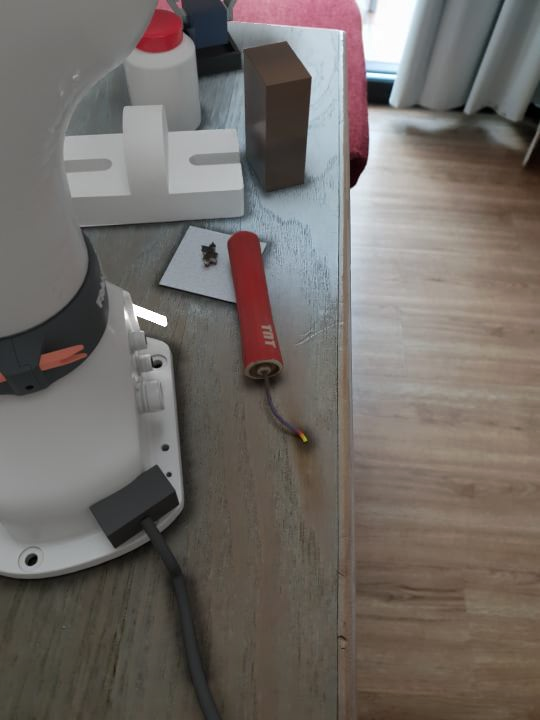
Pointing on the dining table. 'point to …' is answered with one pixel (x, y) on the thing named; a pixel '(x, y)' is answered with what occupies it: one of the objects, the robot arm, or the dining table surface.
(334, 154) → the dining table surface
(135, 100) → the pill bottle
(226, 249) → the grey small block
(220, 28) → the dark blue rectangular block
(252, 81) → the dark brown tall block
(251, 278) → the dynamite stick
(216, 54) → the dark rectangular tray
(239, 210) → the slotted mounting bracket
